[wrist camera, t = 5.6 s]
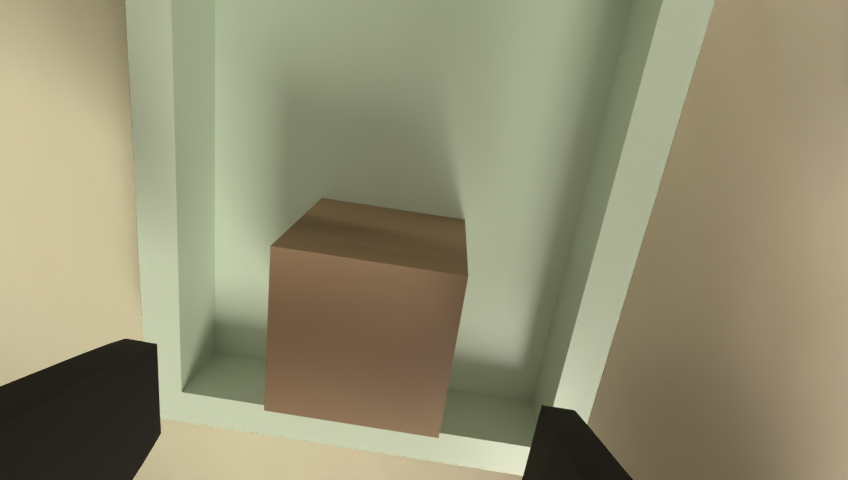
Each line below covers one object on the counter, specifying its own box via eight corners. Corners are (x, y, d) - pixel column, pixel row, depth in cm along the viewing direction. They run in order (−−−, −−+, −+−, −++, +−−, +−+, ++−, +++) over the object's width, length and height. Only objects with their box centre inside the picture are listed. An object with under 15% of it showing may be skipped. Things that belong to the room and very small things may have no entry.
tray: (552, 421, 16) (569, 483, 14) (193, 364, 16) (147, 416, 14) (684, -62, 12) (745, -98, 9) (185, -134, 12) (115, -188, 9)
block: (443, 345, 15) (438, 437, 11) (312, 325, 15) (263, 410, 11) (465, 219, 14) (468, 276, 10) (321, 198, 14) (270, 245, 10)
